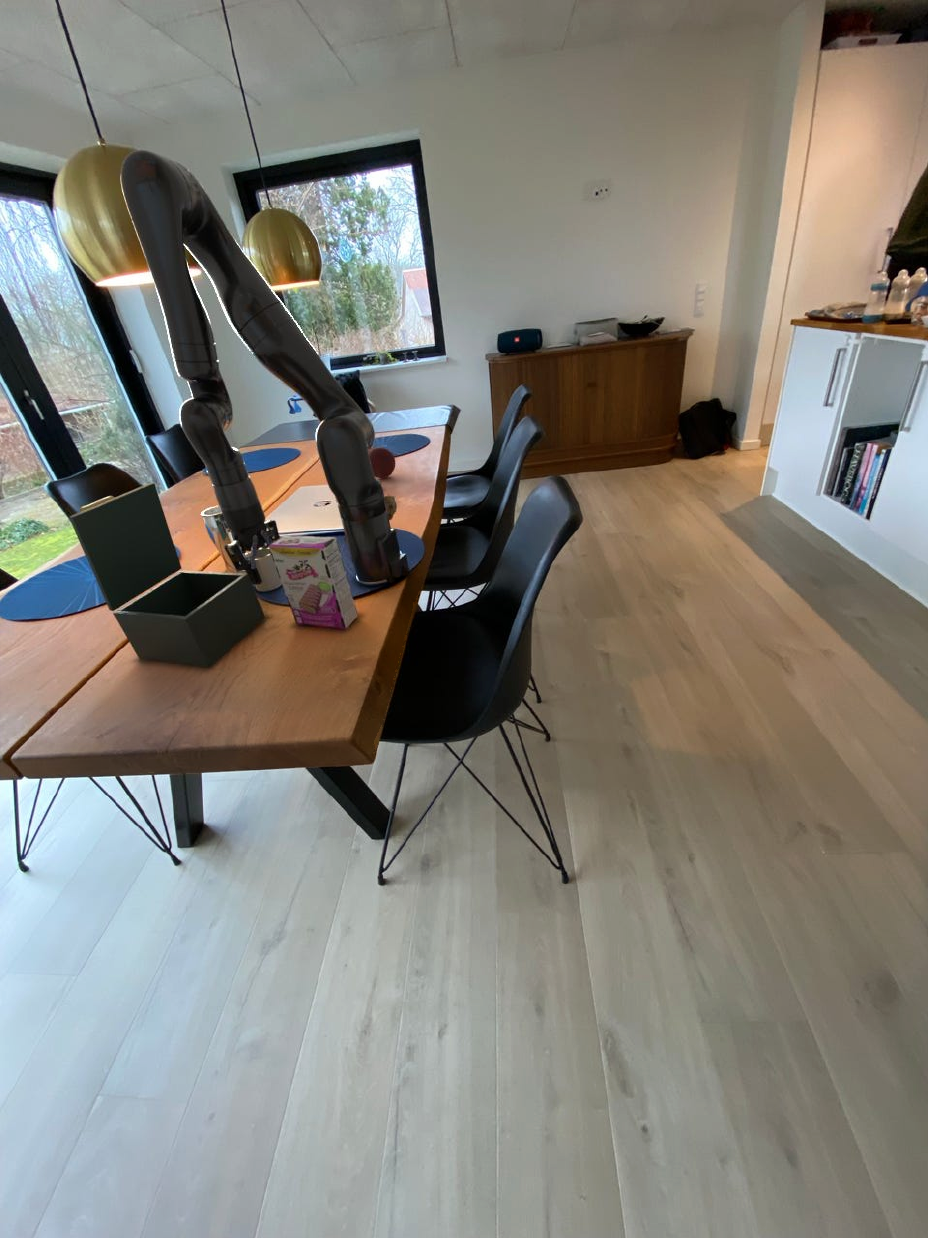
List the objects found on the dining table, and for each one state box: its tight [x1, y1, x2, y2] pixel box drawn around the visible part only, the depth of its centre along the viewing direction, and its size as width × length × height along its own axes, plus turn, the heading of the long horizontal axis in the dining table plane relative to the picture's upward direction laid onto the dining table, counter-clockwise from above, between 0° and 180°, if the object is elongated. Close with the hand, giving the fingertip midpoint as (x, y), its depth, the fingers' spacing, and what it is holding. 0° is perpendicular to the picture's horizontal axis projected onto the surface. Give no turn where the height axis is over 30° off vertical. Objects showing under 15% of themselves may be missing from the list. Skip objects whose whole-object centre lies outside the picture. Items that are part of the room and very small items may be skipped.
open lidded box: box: [112, 569, 267, 669], centre depth 93 cm, size 16×16×10 cm
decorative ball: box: [369, 446, 396, 479], centre depth 170 cm, size 10×10×10 cm
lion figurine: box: [344, 494, 398, 540], centre depth 127 cm, size 15×5×9 cm, turn 110°
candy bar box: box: [268, 534, 359, 630], centre depth 91 cm, size 11×5×16 cm, turn 71°
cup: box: [247, 547, 282, 592], centre depth 110 cm, size 6×6×8 cm
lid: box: [68, 482, 182, 612], centre depth 89 cm, size 17×16×6 cm
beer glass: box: [200, 505, 248, 573], centre depth 117 cm, size 7×7×15 cm
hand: (266, 576), depth 111 cm, fingers closed on cup, 6 cm apart
